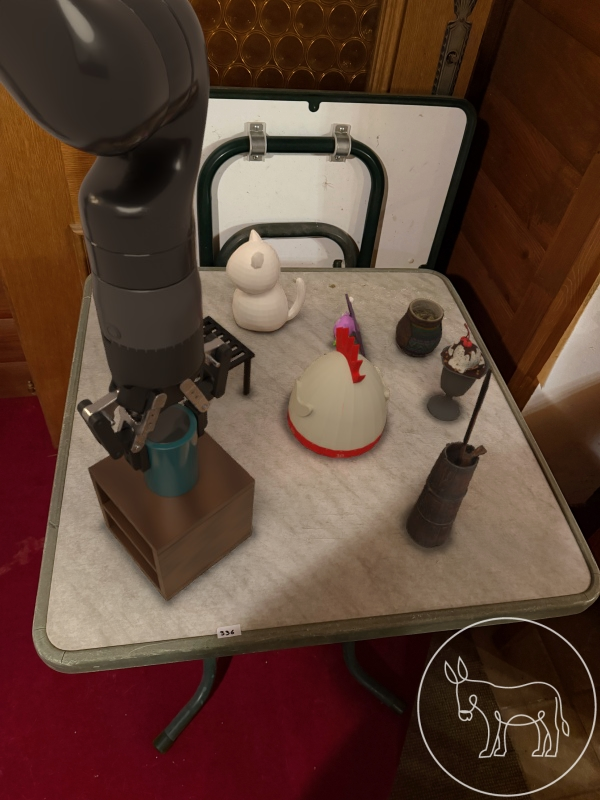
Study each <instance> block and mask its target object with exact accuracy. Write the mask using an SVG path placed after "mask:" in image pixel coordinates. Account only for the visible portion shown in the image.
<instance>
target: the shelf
mask: <svg viewBox="0 0 600 800" xmlns="http://www.w3.org/2000/svg"><path fill="white" fill-rule="evenodd" d="M198 449H199V465H200V476H199V479H198V482H197V483H196V485H195V486H194V487H193V488H192V489H191V490H190V491H188V492H187V493H185V494H183V495H180V496H176V497H163V496H159V495H157V494H155V493H153V492H152V491H151V490H150V489H148V487H147V486H146V484H145V481H144V477H143V472H142V471H141V470H140V469H139V470H138V471H136V470H134V469H133V468H132V466H131V465H130V464H129V463H128V462H127V461H126V460H125V456H124V455H123V456H122V457H121V458H119V459H117V460H114V459H112V457H111V456H110V455H109V454H108V455H107V456H106V457H104V458H102V459H100V460H99V461H97V462H96V463H94V464H92V465H91V466H88V468H87V471H88V473H89V477H90V480H91V483H92V486H93V489H94V492H95V495H96V498H97V501H98V505H99V508H100V511H101V514H102V517H103V520H104V523H105V526H106V528H107V529H108V530H109V531H110V532H111V535H113V536H114V538H115V539H116V540H117V542H118V543H119V544H120V545H121V546H122V548H123V549H124V550H125V552H126V553H127V554H128V555H129V557H130V558H131V559H132V561H134V562H135V564H136V565H137V567H138V568H139V569H140V570H141V571H142V573H143V574H144V575H145V577H146V578H147V579H148V580H149V581H150V583H151V584H152V585H153V586H154V588H155V589H156V590H157V591H158V593H159V594H160V595H161V596H162V598H163V599H164V600H165V601H166V602H169V601H170V600H171V599H172V598H174V597H175V596H176V595H177V594H178V593H179V592H181V591H182V590H184V589H185V588H186V587H188V586H189V585H190V584H191V583H193V582H194V581H195V580H196V579H198V578H199V577H200V576H201V575H202V574H204V573H205V572H206V571H208V570H209V569H210V568H211V567H213V566H214V565H216V564H217V563H218V562H219V561H220V560H222V559H223V558H224V557H226V555H228V554H229V553H230V552H232V551H233V550H234V549H236V548H237V547H239V545H240V544H242V543H243V542H244V541H246V540H247V539H248V538H249V537H251V536H252V528H253V516H254V515H253V514H254V513H253V512H254V498H255V486H256V485H255V484H256V479H255V478H254V477H253V476H252V475H251V474H250V473H249V472H248V471H247V470H246V469H245V468H244V467H243V466H242V465H241V464H240V463H239V462H238V461H237V460H236V459H235V458H233V456H232V455H231V454H230V453H229V452H228V451H227V450H226V449H224V448H223V447H222V446H221V444H219V442H217V440H215V439H214V438H213V436H212V435H210V433H208V432H207V431H206V430H205V434H204V435H202V436H201V437H199V438H198Z"/></svg>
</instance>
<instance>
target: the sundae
mask: <svg viewBox="0 0 600 800" xmlns="http://www.w3.org/2000/svg"><path fill="white" fill-rule="evenodd" d="M463 327H464V328H465V329H466V331H467V333H466V335H463V336H462V335H461V336H460V338H459V341H456V342H453V344H450V345H446V346H445V347H444V348H442V351H441V352H440V353H439V356H440V358H441V364H442V370H441V373H440V379H439V387H440V389H441V390H442V391H443V393H444V394H445V395H441V394H437V395H433V396H432V397H430V398H429V399H428V401H427V405H426V406H427V409H428V410H427V411H429V413H430V414H431V416H433V417H434V418H436V419H438V420H441V421H446V422H451V421H454V420H456V419H458V418H459V416H460V414H461V408H460V405H459V404H458V402H456V401H455V400H454V398H460V397H463V396H464V395H466V394H467V392H468V391H469V390H470V389H471V388H472V386H473V385H474V384H475V382H476V381H477V380H481V379H482V378H483V377H485V376H486V372H487V370H488V369H489V368H490V367H491V364H490V361H489V359H488V358H487V357H486V356H485V355H484V353H482V351H481V350H480V348H479V346H478V345H476V344H475V343H473V341H472V340H470V335H471V334H470V329H469V325H468V324H467V323H466V322H464V323H463Z"/></svg>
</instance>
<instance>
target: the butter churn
mask: <svg viewBox="0 0 600 800" xmlns="http://www.w3.org/2000/svg"><path fill="white" fill-rule="evenodd" d="M493 369H494V368H493V366H491V365H490V368H489V369H488V370H487V372H486V374H485V375H484V378H483V381H482V384H481V387H480V389H479V393H478V396H477V399H476V402H475V404H474V408H473V411H472V414H471V417H470V419H469V422H468V425H467V428H466V431H465V434H464V437H463V439H462V441H451V442H448V443H446V444H445V446H444V447H443V449H442V450H441V452H440V453H439V454H438V457H437V459H436V460H435V462H434V464H433V465H432V467H431V469H430V472H429V473H428V475H427V477H426V479H425V484H423V486H422V489H421V492H420V494H419V495H418V497H417V499H416V502H415V504H414V505H413V507H412V509H411V511H410V514H409V515H408V517H407V521H406V530H407V532H408V534H409V536H410V538H411V539H412V541H413V542H415V543H416V544H418V545H420V546H422V547H424V548H427V549H429V548H433V547H435V546H437V547H438V546H442V545H444V544H445V543H446V542H447V541H448V540H449V536H450V534H451V530H452V527H453V525H454V523H455V521H456V518H457V516H458V513H459V511H460V507H461V505H462V502H463V500H464V498H465V497H466V495H467V493H468V491H469V490H468V489H469V486H470V483H471V481H472V479H473V476H474V474H475V471H476V468H477V467H478V464H479V461H480V458H481V456H483V455H485V454H487V453H488V450H487V449H486V447H485V446H484V445H483V444H480V445H478V446H477V447H475V446H474V445H473V444H469V441H470V438H471V435H472V432H473V431H474V427H475V424H476V422H477V418H478V415H479V413H480V412H481V408H482V405H483V403H484V400H485V397H486V395H487V392H488V390H489V387H490V382H491V379H492V378H491V377H492V374H493Z"/></svg>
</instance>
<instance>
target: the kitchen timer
mask: <svg viewBox="0 0 600 800" xmlns="http://www.w3.org/2000/svg"><path fill="white" fill-rule="evenodd" d="M355 338H356V335H355V336H349V327H348V328H343V327H338V328H336V336H335V340H336V345H335V349H336V350H333V351H330V352H328V353H324V354H323V355H321V356H319V357H318V358H317V359H315V360H314V361H313V362H312V363H310V364H309V365H308V366H307V367H306V368H305V369H304V371H303V373H302V374H301V376H300V377H299V379H297V378H295V379H294V381H293V384H292V389H291V393H290V395H289V400H288V406H287V414H286V418H287V423H288V428H289V429H290V431H291V433H292V435H293V436H294V438H295V439H296V440H297V441H298V442H299V443H300V444H301V445H303V446H304V447H305V448H307V449H308V450H310V451H312V452H314V453H316V454H318V455H322V456H324V457H328V458H332V459H333V458H337V459H348V458H354V457H358V456H362V455H363V454H365V453H366V452H369V451H370V450H372V449H373V448H374V447H375V446H376V445H377V444H378V443H379V441H380V440H381V437H382V435H383V432H384V431H385V426H386V424H387V411H388V409H387V404H388V403H387V401H389V400H390V397H391V396H390V395H391V392H390V389H389V388H388V386H387V385H386V383H385V380H384V378H383V374H382V372H381V370H380V368H379V367H378V366H377V365H374V364H373V363H372V362H371V361H370V360H368V359H367V357H366V358H365V357H363V356H362V354H360V353H359V352H360V347H359V344H355V340H356V339H355Z"/></svg>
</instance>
